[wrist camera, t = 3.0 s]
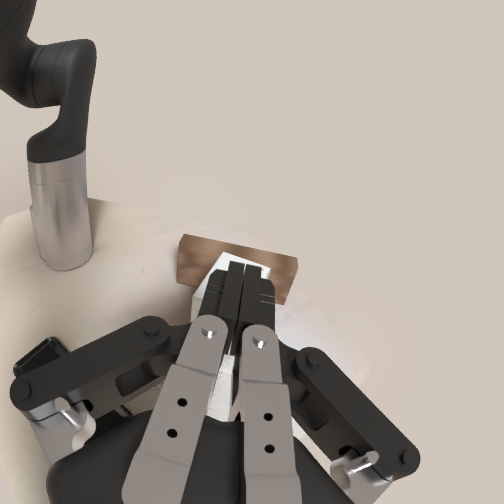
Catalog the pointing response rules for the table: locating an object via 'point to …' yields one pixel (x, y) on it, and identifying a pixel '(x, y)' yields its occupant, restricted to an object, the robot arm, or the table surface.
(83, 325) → the table surface
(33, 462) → the table surface
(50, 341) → the phone
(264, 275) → the small box
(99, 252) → the table surface
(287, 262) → the walnut board
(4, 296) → the table surface
